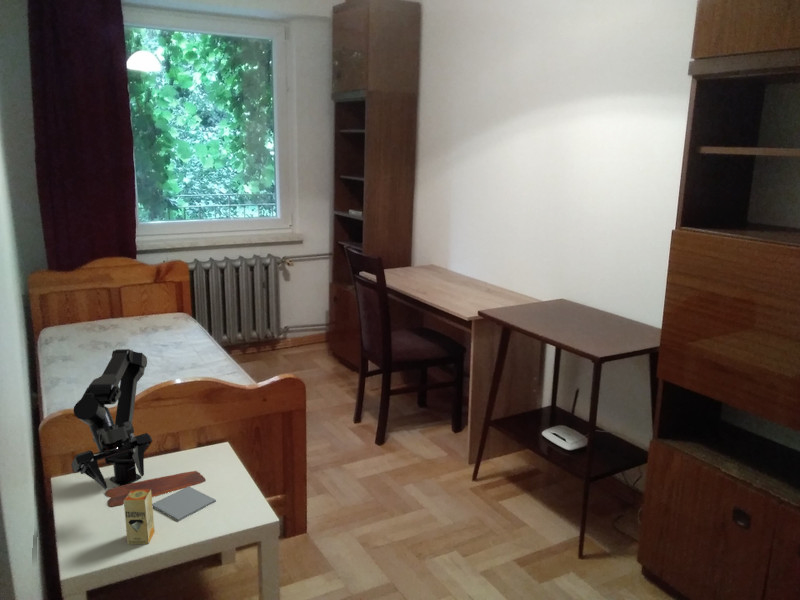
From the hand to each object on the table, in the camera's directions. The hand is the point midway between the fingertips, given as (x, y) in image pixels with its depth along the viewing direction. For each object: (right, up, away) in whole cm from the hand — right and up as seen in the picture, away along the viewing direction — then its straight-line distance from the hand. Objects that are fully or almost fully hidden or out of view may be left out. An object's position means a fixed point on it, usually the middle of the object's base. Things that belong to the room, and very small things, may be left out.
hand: (124, 482), depth 158 cm
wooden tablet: (-1, -9, +22) cm, 24 cm away
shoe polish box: (+5, -14, -2) cm, 15 cm away
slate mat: (+10, -10, +14) cm, 20 cm away
